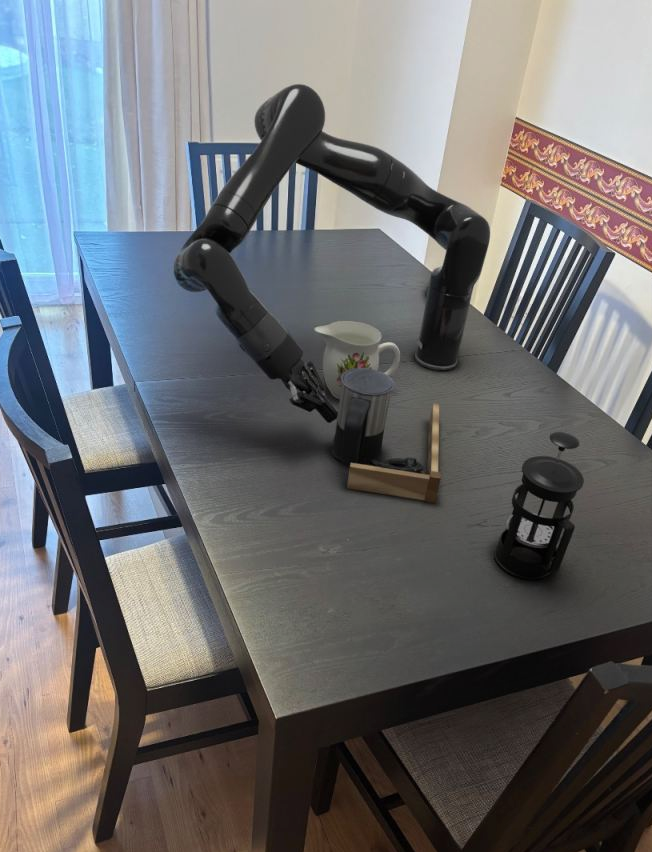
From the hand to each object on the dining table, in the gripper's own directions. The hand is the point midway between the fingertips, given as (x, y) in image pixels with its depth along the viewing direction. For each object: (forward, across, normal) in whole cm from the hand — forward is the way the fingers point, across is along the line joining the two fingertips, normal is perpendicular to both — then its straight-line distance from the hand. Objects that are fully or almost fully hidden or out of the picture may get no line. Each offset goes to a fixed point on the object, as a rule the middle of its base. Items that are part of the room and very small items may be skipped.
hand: (333, 418), depth 139 cm
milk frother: (+10, +2, +2) cm, 11 cm away
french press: (+28, +24, +20) cm, 42 cm away
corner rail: (+13, -1, +4) cm, 13 cm away
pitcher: (+6, -21, -3) cm, 22 cm away
